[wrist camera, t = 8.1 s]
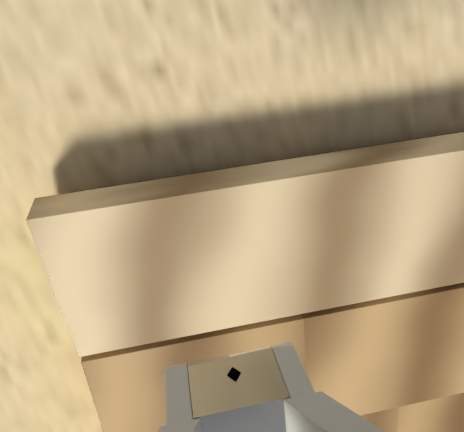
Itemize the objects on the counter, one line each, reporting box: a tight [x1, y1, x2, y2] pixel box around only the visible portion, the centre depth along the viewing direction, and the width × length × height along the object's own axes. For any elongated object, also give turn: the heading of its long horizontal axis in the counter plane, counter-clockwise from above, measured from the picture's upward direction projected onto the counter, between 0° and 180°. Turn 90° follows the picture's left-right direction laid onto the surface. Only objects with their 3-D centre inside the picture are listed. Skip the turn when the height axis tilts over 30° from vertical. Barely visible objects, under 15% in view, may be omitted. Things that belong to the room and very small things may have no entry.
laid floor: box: [81, 283, 464, 432], centre depth 24 cm, size 24×14×2 cm, turn 96°
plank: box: [26, 132, 464, 357], centre depth 19 cm, size 24×7×2 cm, turn 96°
